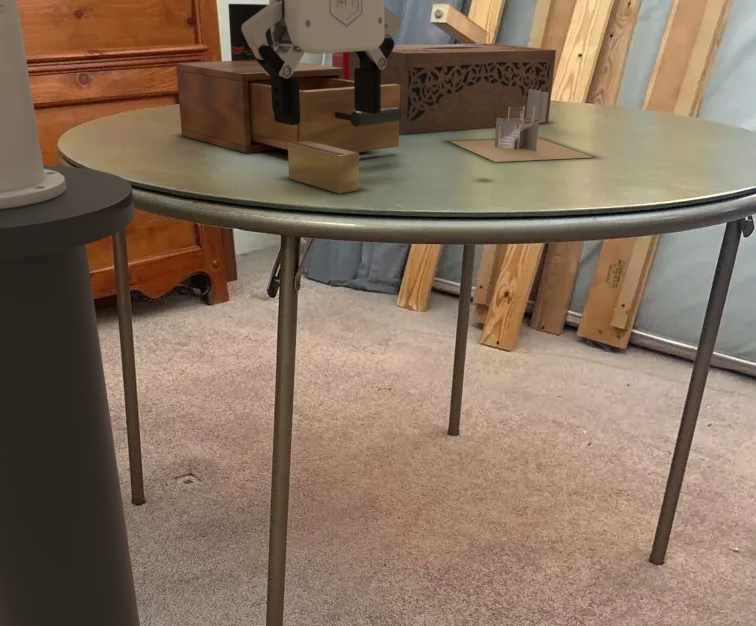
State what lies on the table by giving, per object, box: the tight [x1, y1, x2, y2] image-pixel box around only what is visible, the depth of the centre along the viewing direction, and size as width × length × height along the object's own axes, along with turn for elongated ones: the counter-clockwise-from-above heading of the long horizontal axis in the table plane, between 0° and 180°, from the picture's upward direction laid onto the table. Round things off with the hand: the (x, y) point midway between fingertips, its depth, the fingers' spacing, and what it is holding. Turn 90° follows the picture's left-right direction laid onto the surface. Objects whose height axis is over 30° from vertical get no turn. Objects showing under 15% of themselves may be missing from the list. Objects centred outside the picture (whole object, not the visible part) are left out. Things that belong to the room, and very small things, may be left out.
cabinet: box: [175, 60, 344, 154], centre depth 98 cm, size 15×15×9 cm
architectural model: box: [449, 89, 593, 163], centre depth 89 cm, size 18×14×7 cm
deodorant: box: [227, 3, 273, 61], centre depth 112 cm, size 6×6×15 cm
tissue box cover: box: [349, 43, 557, 135], centre depth 115 cm, size 26×14×10 cm, turn 121°
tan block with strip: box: [287, 141, 360, 194], centre depth 77 cm, size 2×8×4 cm, turn 42°
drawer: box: [248, 76, 402, 153], centre depth 89 cm, size 18×13×7 cm
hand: (328, 117), depth 75 cm, fingers open, 9 cm apart
